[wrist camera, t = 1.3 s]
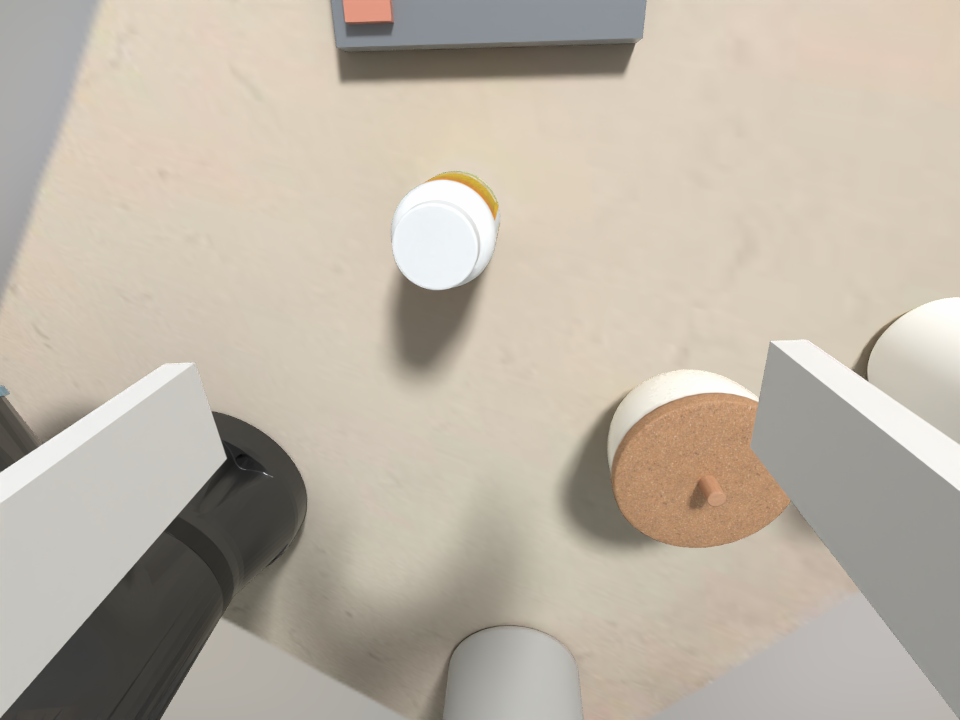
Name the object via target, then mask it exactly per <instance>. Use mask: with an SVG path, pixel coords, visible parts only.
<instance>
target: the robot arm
mask: <svg viewBox="0 0 960 720" xmlns="http://www.w3.org/2000/svg"><path fill="white" fill-rule="evenodd" d="M8 394H10V393H9V391H8V390H7V389H6V387H5V386H2V385H0V720H160V719H161V717H162V716H163V714H164V712H165V710H166V709H167V707H168V705H169V704H170V702H171V700H172V699H173V697H174V695H175V694H176V692H177V690H178V689H179V687H180V685H181V683H182V682H183V680H184V678H185V677H186V675H187V673H188V672H189V670H190V668H191V667H192V665H193V663H194V661H195V660H196V658H197V657H198V654H199V653H200V651H201V650H202V648H203V646H204V644H205V643H206V641H207V640H208V638H209V636H210V635H211V633H212V631H213V629H214V628H215V626H216V624H217V623H218V621H219V619H220V618H221V616H222V615H223V613H224V611H225V610H226V608H227V606H228V605H229V603H230V601H231V600H232V598H233V597H234V596H235V595H236V594H237V593H238V592H239V591H240V590H242V589H243V588H244V587H245V586H246V585H247V584H248V583H249V582H250V581H251V580H252V579H253V578H255V577H256V576H257V575H258V574H259V573H260V572H261V571H262V570H263V569H264V568H265V567H267V566H268V565H270V564H272V563H273V562H274V561H275V560H277V559H278V558H279V557H280V556H281V555H282V554H283V553H284V552H285V551H286V549H287V548H288V547H289V546H290V544H291V542H292V541H293V539H294V537H295V535H296V534H297V532H298V530H299V528H300V526H301V524H302V522H303V520H304V517H305V513H306V507H307V498H306V491H305V486H304V483H303V480H302V478H301V475H300V473H299V471H298V469H297V468H296V466H295V464H294V463H293V461H292V460H291V459H290V457H289V456H288V455H287V454H286V452H285V451H284V450H283V449H282V448H281V447H280V446H279V445H278V444H277V443H276V442H275V441H273V440H272V439H271V438H270V437H269V436H267V435H266V434H265V433H263V432H262V431H260V430H259V429H257V428H255V427H253V426H252V425H250V424H248V423H246V422H244V421H242V420H239V419H237V418H234V417H232V416H229V415H225V414H222V413H218V412H213V411H211V409H210V406H209V403H208V400H207V397H206V394H205V391H204V388H203V385H202V382H201V379H200V376H199V373H198V370H197V367H196V364H195V363H169V364H163V365H162V366H160V367H159V368H157V369H156V370H154V371H153V372H151V373H150V374H148V375H147V376H145V377H144V378H142V379H141V380H139V381H138V382H136V383H135V384H133V385H132V386H130V387H129V388H127V389H126V390H124V391H123V392H121V393H120V394H118V395H117V396H115V397H114V398H112V399H111V400H109V401H107V402H106V403H104V404H103V405H101V406H100V407H98V408H97V409H95V410H94V411H92V412H91V413H89V414H88V415H86V416H85V417H83V418H82V419H80V420H79V421H77V422H76V423H74V424H73V425H71V426H70V427H68V428H67V429H65V430H64V431H62V432H61V433H59V434H58V435H56V436H55V437H53V438H52V439H50V440H49V441H47V442H46V443H44V444H42V443H41V441H40V440H39V439H38V438H37V436H36V435H35V434H34V433H33V431H32V430H31V429H30V428H29V426H28V425H27V424H26V422H25V421H24V420H23V419H22V417H21V416H20V415H19V414H18V412H17V411H16V410H15V409H14V407H13V406H12V405H11V404H10V402H9V401H8V400H7V398H6V397H5V396H4V395H8ZM750 448H751V449H752V451H753V452H754V453H755V454H756V456H757V457H758V458H759V460H760V461H761V462H762V464H763V465H764V466H765V467H766V469H767V470H768V471H769V473H770V474H771V475H772V477H773V478H774V479H775V480H776V482H777V483H778V484H779V486H780V487H781V488H782V490H783V491H784V492H785V493H786V495H787V496H788V497H789V499H790V500H791V501H792V503H793V504H794V505H795V506H796V508H797V509H798V510H799V512H800V513H801V514H802V516H803V517H804V518H805V519H806V521H807V522H808V523H809V525H810V526H811V527H812V529H813V530H814V531H815V532H816V534H817V535H818V536H819V538H820V539H821V540H822V542H823V543H824V544H825V545H826V547H827V548H828V549H829V551H830V552H831V553H832V555H833V556H834V557H835V558H836V560H837V561H838V562H839V564H840V565H841V566H842V568H843V569H844V570H845V571H846V573H847V574H848V575H849V577H850V578H851V579H852V581H853V582H854V583H855V584H856V586H857V587H858V588H859V590H860V591H861V592H862V594H863V595H864V596H865V597H866V599H867V600H868V601H869V603H870V604H871V605H872V607H873V608H874V609H875V610H876V612H877V613H878V614H879V616H880V617H881V618H882V620H883V621H884V622H885V623H886V625H887V626H888V627H889V629H890V630H891V631H892V632H893V634H894V635H895V636H896V638H897V639H898V640H899V642H900V643H901V644H902V645H903V647H904V648H905V649H906V651H907V652H908V653H909V654H910V656H911V657H912V659H913V660H914V661H915V662H916V664H917V665H918V666H919V668H920V669H921V670H922V672H923V673H924V674H925V675H926V677H927V678H928V679H929V681H930V682H931V683H932V685H933V686H934V687H935V688H936V690H937V691H938V692H939V694H940V695H941V696H942V697H943V699H944V700H945V701H946V703H947V704H948V705H949V707H950V708H951V709H952V711H953V712H954V713H955V714H956V716H957V717H958V718H959V720H960V445H959V444H958V443H956V442H955V441H953V440H952V439H951V438H949V437H948V436H946V435H945V434H943V433H942V432H940V431H939V430H937V429H936V428H935V427H933V426H932V425H930V424H929V423H927V422H926V421H924V420H923V419H922V418H920V417H919V416H917V415H916V414H914V413H913V412H911V411H910V410H908V409H907V408H906V407H904V406H903V405H901V404H900V403H898V402H897V401H895V400H894V399H892V398H891V397H890V396H888V395H887V394H885V393H884V392H882V391H881V390H879V389H878V388H877V387H875V386H874V385H872V384H871V383H869V382H868V381H866V380H865V379H863V378H862V377H861V376H859V375H858V374H856V373H855V372H853V371H852V370H850V369H849V368H847V367H846V366H845V365H843V364H842V363H840V362H839V361H837V360H836V359H834V358H833V357H831V356H830V355H829V354H827V353H826V352H824V351H823V350H821V349H820V348H818V347H817V346H816V345H814V344H813V343H811V342H810V341H808V340H782V341H770V344H769V349H768V354H767V360H766V365H765V370H764V376H763V381H762V386H761V391H760V397H759V402H758V407H757V412H756V418H755V423H754V428H753V434H752V439H751V444H750Z"/></svg>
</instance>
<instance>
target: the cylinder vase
mask: <svg viewBox="0 0 960 720" xmlns="http://www.w3.org/2000/svg"><path fill="white" fill-rule="evenodd" d="M442 720H584V717H583V708H582V700H581V691H580V682H579V673H578V667H577V664H576V662H575V659H574V657H573V656H572V654H571V653H570V651H569V650H568V649H567V648H566V647H565V646H564V645H563V644H562V643H561V642H559V641H558V640H557V639H555V638H554V637H552V636H550V635H548V634H546V633H544V632H541V631H538V630H535V629H531V628H527V627H521V626H498V627H492V628H488V629H484V630H481V631H479V632H476V633H474V634H472V635H471V636H469V637H468V638H466V639H465V640H464V641H463V642H461V643H460V644H459V646H458V647H457V648H456V650H455V651H454V653H453V655H452V657H451V660H450V664H449V672H448V680H447V687H446V695H445V703H444V711H443V719H442Z"/></svg>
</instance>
